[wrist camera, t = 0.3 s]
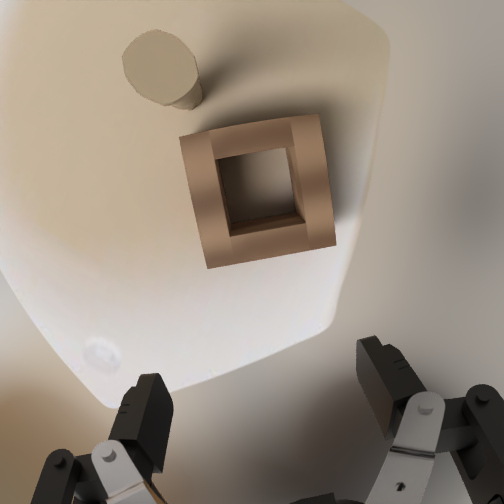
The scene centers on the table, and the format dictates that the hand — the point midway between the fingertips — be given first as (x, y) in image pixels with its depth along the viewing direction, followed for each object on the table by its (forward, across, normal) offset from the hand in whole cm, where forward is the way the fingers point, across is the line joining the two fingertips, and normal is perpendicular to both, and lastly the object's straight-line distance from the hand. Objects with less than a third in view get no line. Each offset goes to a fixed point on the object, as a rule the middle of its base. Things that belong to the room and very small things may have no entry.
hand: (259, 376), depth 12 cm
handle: (+28, +4, -16) cm, 32 cm away
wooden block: (+28, -2, -4) cm, 28 cm away
